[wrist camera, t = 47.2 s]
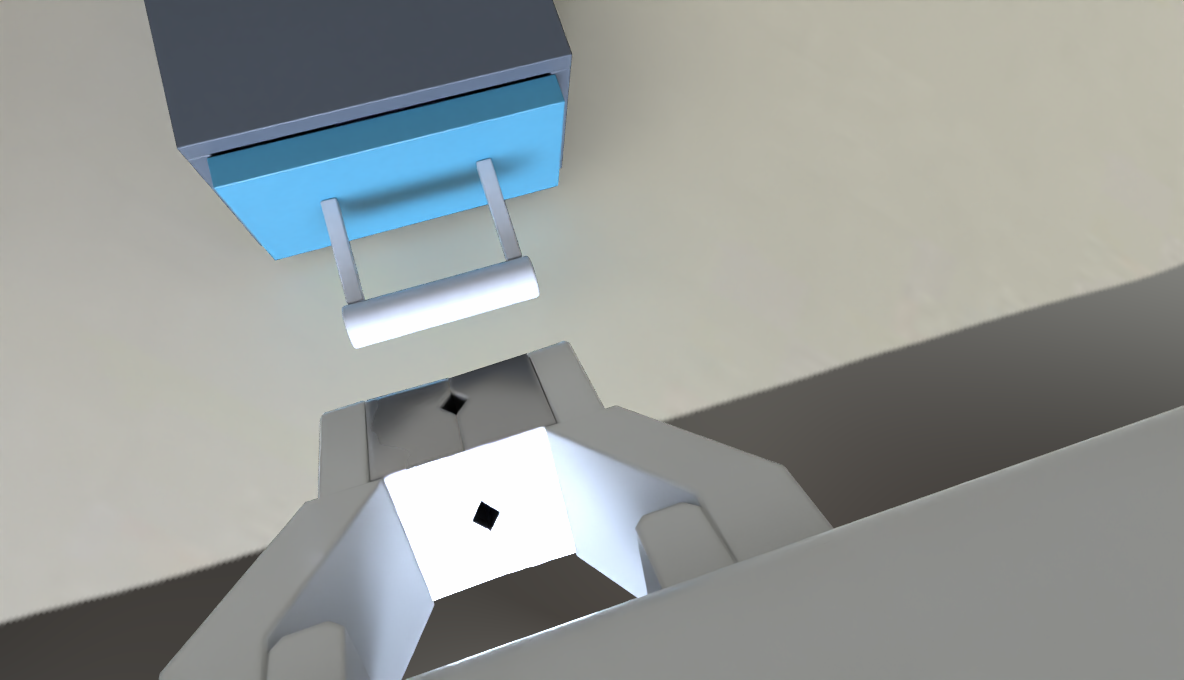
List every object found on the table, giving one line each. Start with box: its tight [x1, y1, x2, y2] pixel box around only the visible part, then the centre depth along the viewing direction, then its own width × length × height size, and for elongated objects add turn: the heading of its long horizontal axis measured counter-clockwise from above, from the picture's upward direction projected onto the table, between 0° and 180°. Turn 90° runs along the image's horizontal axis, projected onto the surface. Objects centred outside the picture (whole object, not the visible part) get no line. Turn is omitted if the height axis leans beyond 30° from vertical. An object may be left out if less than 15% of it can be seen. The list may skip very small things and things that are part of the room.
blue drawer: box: [207, 74, 565, 348], centre depth 32 cm, size 19×12×7 cm, turn 18°
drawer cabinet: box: [144, 0, 572, 246], centre depth 33 cm, size 15×14×9 cm
